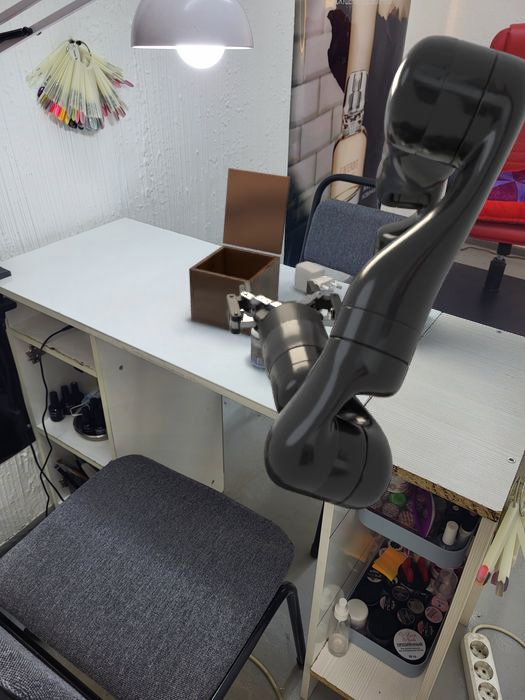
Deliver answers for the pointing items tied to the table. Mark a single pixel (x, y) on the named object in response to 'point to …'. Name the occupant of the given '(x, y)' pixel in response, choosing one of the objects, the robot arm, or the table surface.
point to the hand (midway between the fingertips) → (277, 287)
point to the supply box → (230, 282)
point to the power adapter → (312, 277)
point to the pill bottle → (256, 350)
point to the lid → (256, 210)
